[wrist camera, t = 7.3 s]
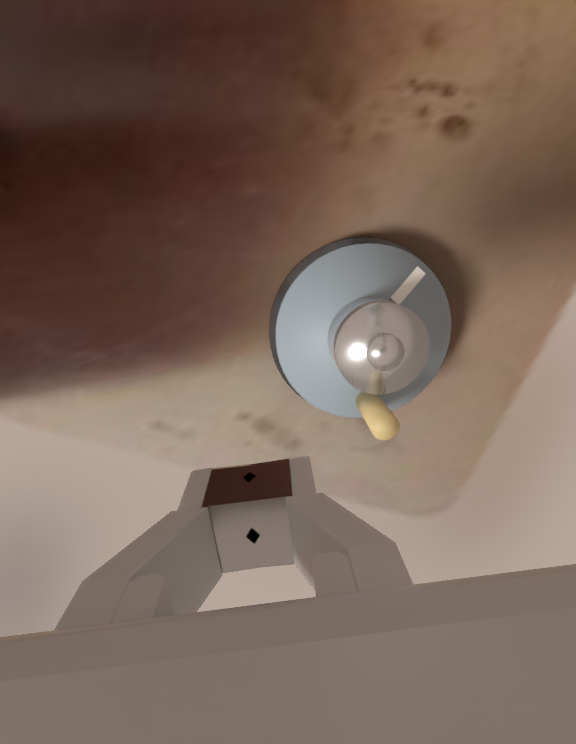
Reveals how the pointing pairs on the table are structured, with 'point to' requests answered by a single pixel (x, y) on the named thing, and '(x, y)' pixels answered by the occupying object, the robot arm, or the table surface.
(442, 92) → the table surface
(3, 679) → the robot arm
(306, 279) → the turntable
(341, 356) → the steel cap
